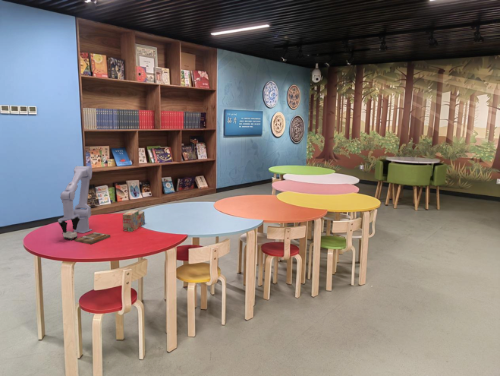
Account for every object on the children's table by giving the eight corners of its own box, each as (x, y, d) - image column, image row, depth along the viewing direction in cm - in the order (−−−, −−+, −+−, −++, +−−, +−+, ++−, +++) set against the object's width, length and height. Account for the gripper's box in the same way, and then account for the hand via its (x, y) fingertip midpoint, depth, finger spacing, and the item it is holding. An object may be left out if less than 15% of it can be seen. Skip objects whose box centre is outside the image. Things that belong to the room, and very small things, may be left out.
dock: (74, 241, 237) (74, 237, 237) (94, 234, 252) (93, 230, 251) (91, 244, 232) (91, 240, 231) (110, 237, 246) (110, 233, 246)
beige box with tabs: (62, 238, 241) (61, 232, 240) (68, 236, 245) (67, 230, 244) (71, 240, 238) (71, 234, 237) (77, 238, 242) (77, 232, 241)
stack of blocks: (136, 223, 280) (136, 206, 277) (145, 223, 279) (144, 207, 277) (123, 231, 259) (122, 214, 257) (131, 232, 258) (131, 214, 256)
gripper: (63, 213, 229) (64, 234, 232) (82, 208, 243) (83, 228, 245) (55, 212, 232) (56, 233, 235) (74, 207, 245) (75, 227, 248)
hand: (69, 231), depth 240 cm, fingers open, 7 cm apart
